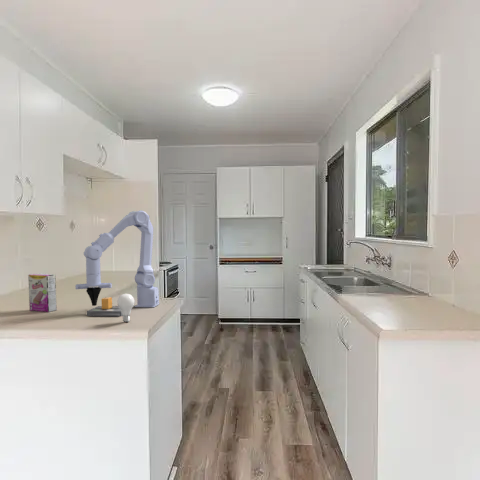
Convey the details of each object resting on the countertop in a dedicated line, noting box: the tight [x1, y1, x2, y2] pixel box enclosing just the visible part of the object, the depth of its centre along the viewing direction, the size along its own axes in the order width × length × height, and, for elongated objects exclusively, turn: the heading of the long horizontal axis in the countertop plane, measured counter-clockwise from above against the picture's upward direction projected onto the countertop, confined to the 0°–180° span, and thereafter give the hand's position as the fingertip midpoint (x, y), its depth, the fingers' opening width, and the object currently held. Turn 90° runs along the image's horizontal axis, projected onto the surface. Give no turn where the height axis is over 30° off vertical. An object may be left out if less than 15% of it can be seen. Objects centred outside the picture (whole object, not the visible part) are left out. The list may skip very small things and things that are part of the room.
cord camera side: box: [90, 313, 121, 318], centre depth 160 cm, size 13×1×1 cm, turn 83°
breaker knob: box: [101, 296, 113, 309], centre depth 166 cm, size 3×4×4 cm
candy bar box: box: [27, 273, 57, 313], centre depth 174 cm, size 11×5×16 cm, turn 71°
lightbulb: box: [116, 293, 135, 323], centre depth 149 cm, size 6×6×11 cm
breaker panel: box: [86, 305, 123, 317], centre depth 166 cm, size 15×10×2 cm, turn 83°
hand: (94, 305), depth 167 cm, fingers closed
